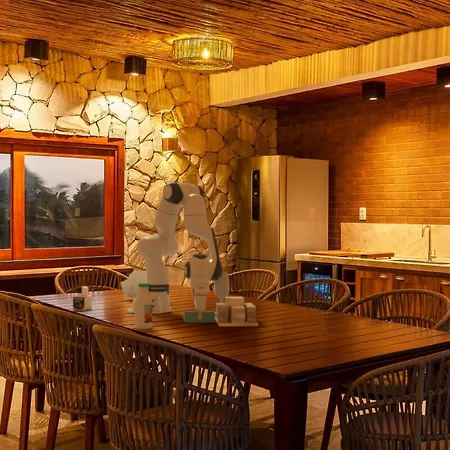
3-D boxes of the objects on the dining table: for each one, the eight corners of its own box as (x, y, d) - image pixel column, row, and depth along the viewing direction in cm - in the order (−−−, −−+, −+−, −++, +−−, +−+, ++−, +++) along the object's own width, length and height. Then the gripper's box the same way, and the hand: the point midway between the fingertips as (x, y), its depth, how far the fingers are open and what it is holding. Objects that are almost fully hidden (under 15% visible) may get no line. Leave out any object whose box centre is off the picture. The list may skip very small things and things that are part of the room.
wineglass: (228, 316, 335) (228, 273, 334) (211, 315, 336) (211, 273, 336) (231, 313, 343) (232, 272, 343) (214, 312, 345) (215, 271, 345)
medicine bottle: (72, 309, 350) (72, 286, 350) (80, 307, 357) (80, 285, 357) (84, 310, 348) (84, 287, 348) (92, 308, 354) (92, 286, 354)
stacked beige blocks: (214, 319, 324) (214, 296, 324) (251, 318, 326) (251, 296, 326) (219, 326, 304) (219, 302, 304) (258, 326, 307) (258, 301, 306)
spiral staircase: (138, 304, 400) (163, 307, 381) (115, 294, 389) (140, 296, 371) (148, 276, 405) (174, 277, 387) (126, 264, 395) (151, 265, 376)
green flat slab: (182, 317, 327) (183, 307, 327) (211, 317, 329) (211, 307, 329) (184, 322, 314) (184, 311, 314) (214, 322, 315) (214, 311, 315)
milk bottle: (138, 330, 292) (138, 284, 292) (132, 327, 299) (132, 282, 299) (154, 328, 296) (155, 283, 296) (148, 326, 303) (148, 281, 302)
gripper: (191, 286, 325) (191, 315, 325) (194, 291, 305) (194, 322, 305) (204, 286, 326) (204, 314, 326) (208, 291, 305) (208, 321, 306)
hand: (199, 318), depth 315 cm, fingers closed on green flat slab
